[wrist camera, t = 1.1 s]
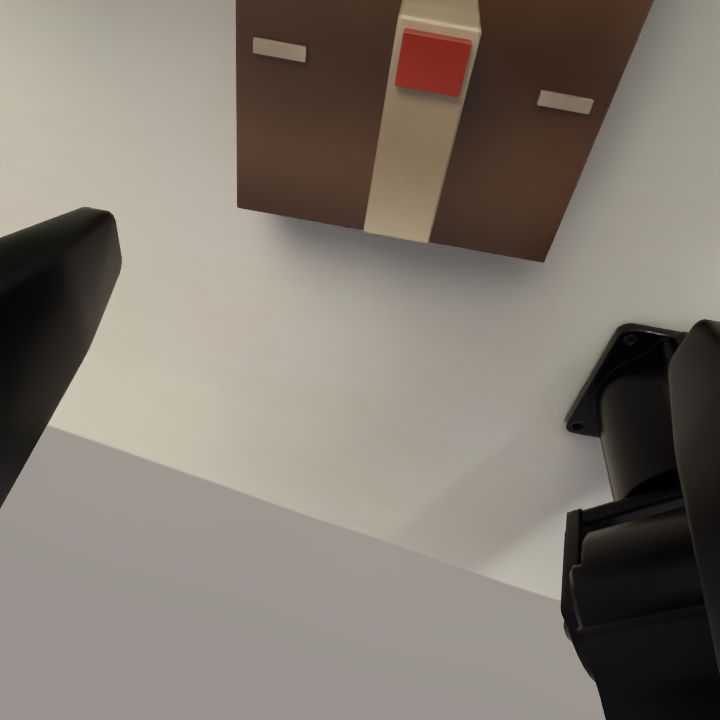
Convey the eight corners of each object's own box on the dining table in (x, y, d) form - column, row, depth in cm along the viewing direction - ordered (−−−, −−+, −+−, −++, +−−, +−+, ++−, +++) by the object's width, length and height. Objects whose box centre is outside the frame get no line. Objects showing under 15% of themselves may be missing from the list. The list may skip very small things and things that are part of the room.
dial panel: (535, 215, 22) (544, 266, 19) (258, 165, 22) (235, 210, 19) (672, -144, 15) (712, -130, 13) (266, -221, 15) (231, -220, 12)
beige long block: (433, 165, 18) (427, 251, 15) (378, 155, 18) (361, 239, 14) (477, -24, 14) (483, 33, 11) (410, -36, 14) (397, 17, 11)
